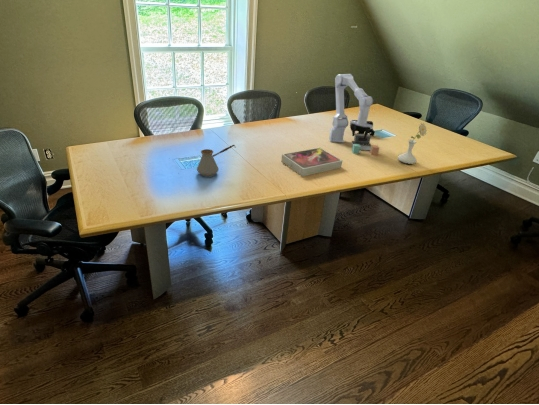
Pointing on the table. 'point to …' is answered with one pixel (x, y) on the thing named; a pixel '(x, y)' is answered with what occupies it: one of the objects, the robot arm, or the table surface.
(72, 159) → the table surface
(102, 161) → the table surface
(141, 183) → the table surface
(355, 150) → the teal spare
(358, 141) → the block
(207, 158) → the coffee pot
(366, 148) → the pad
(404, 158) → the flower in vase
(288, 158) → the product packaging
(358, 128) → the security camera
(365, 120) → the robot arm
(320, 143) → the table surface
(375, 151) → the salmon pink block
